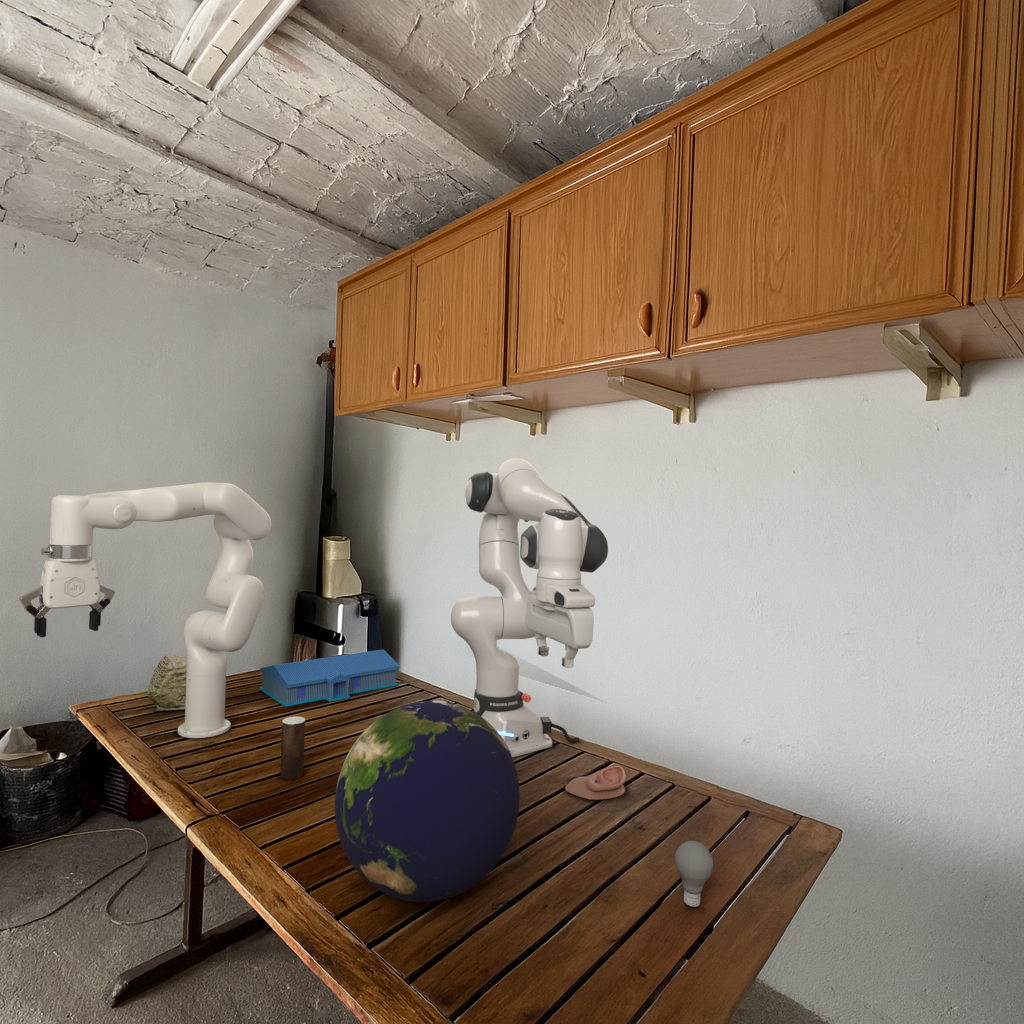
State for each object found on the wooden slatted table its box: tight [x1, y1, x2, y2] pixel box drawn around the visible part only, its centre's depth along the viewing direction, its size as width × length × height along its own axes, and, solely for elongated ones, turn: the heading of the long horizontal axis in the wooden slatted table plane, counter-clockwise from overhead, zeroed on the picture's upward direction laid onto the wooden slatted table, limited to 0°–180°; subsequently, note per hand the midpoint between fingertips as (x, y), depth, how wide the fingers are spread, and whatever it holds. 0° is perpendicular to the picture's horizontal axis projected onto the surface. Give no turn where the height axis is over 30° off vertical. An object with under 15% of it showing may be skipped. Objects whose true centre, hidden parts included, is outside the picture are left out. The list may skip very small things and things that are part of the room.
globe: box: [334, 700, 521, 903], centre depth 104 cm, size 30×30×30 cm
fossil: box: [147, 654, 187, 712], centre depth 185 cm, size 9×18×15 cm, turn 132°
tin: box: [279, 716, 306, 781], centre depth 143 cm, size 5×5×12 cm
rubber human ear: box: [564, 765, 627, 801], centre depth 143 cm, size 13×4×12 cm
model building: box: [258, 649, 401, 707], centre depth 208 cm, size 39×24×10 cm, turn 132°
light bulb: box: [674, 840, 714, 907], centre depth 103 cm, size 6×6×10 cm
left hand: (68, 633), depth 135 cm, fingers open, 9 cm apart
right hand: (554, 661), depth 126 cm, fingers open, 8 cm apart
